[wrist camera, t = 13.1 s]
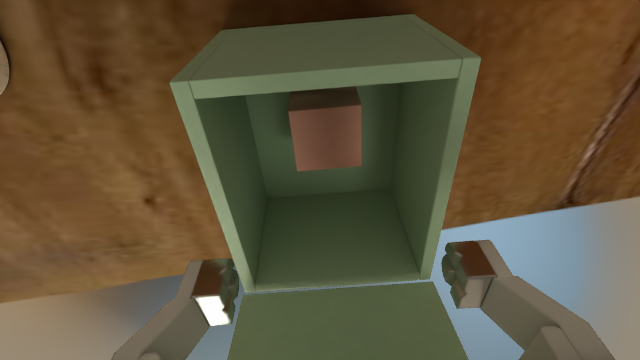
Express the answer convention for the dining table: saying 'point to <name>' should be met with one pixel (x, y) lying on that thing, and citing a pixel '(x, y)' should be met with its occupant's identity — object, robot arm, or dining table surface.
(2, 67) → the teacup with lid
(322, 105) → the block
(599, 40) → the dining table surface
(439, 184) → the box
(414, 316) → the lid
